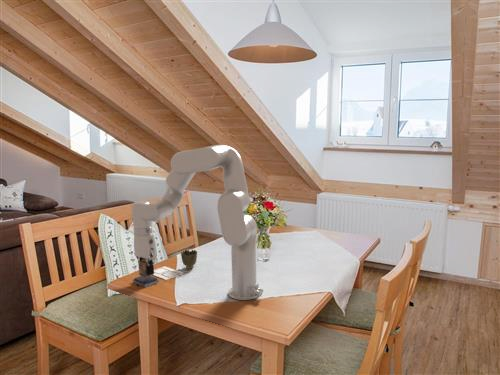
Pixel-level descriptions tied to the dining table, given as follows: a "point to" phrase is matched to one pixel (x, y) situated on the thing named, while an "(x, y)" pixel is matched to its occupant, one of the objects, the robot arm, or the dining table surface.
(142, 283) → the ink pad
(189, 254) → the carved brown lampshade
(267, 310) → the dining table surface
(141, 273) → the stamp
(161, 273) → the sheet
